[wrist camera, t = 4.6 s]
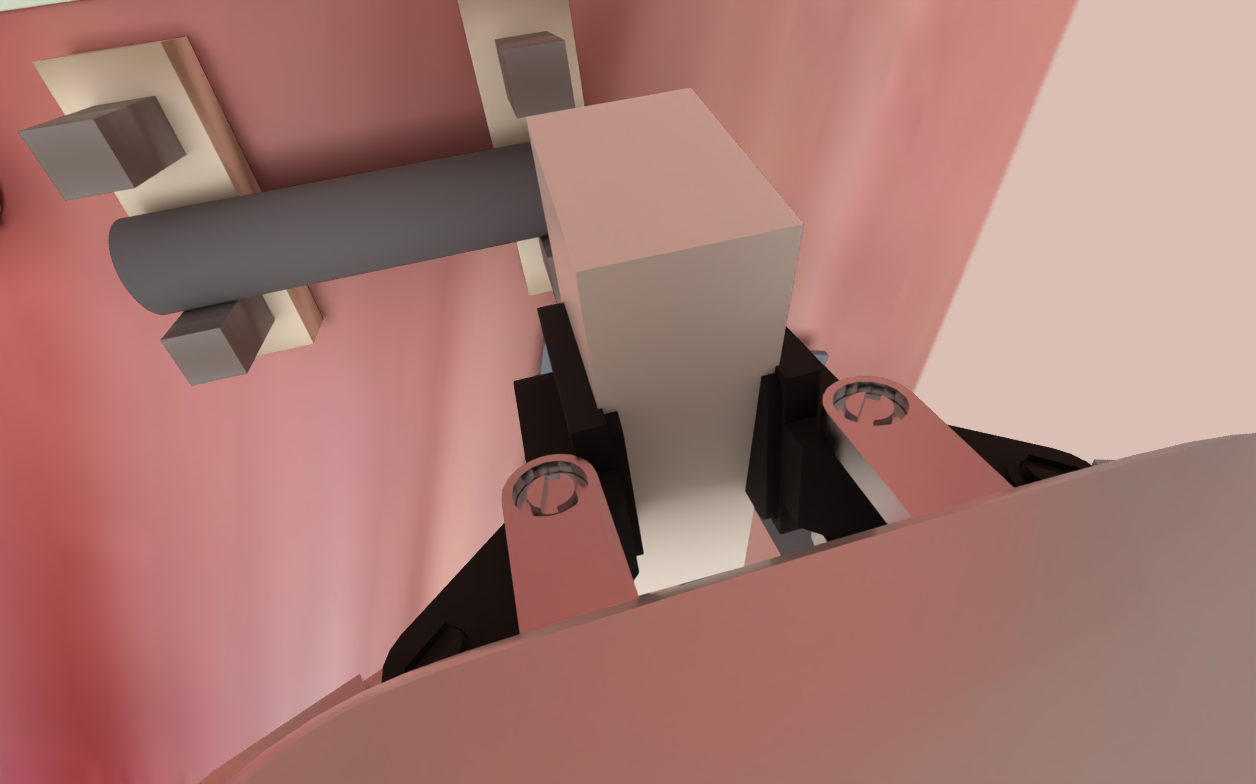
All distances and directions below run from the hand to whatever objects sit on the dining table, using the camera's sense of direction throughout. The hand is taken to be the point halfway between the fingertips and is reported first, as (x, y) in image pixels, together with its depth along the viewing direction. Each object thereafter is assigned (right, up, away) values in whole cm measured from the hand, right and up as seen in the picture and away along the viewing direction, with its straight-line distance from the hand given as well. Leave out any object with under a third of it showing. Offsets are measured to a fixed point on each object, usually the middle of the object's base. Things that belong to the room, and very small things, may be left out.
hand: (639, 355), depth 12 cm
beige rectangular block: (0, +1, 0) cm, 1 cm away
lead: (-10, +7, +12) cm, 18 cm away
